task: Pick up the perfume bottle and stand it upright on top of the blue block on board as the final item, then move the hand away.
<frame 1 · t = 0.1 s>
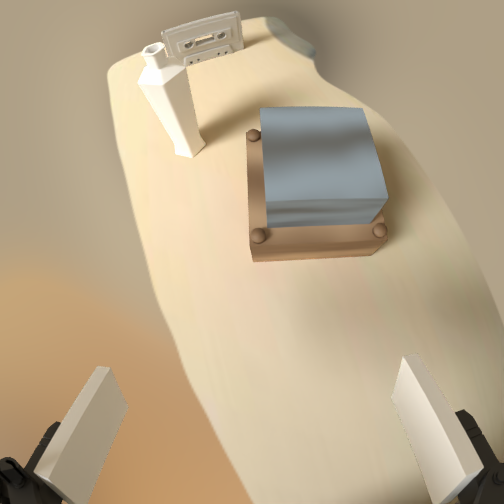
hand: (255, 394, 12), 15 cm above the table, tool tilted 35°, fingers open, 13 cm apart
cassette: (208, 58, 40), on the table
blue block on board: (308, 203, 31), on the table
perfume bottle: (191, 146, 34), on the table
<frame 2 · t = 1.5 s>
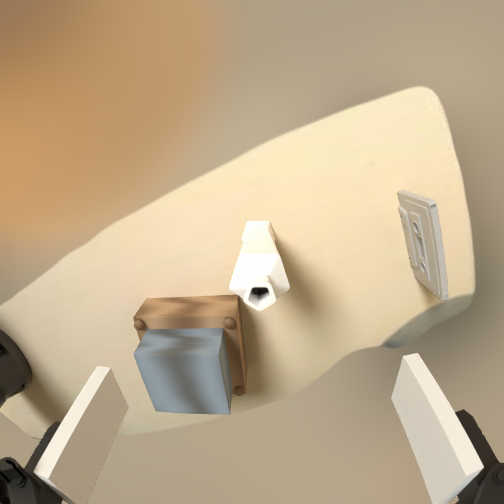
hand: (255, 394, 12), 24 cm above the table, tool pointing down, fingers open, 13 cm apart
cassette: (409, 234, 34), on the table
blue block on board: (198, 336, 38), on the table
perfume bottle: (258, 236, 34), on the table
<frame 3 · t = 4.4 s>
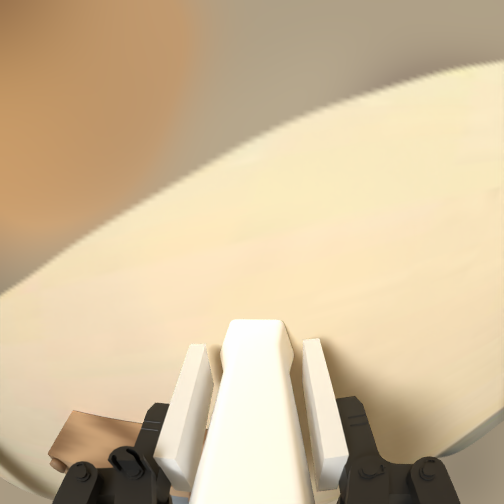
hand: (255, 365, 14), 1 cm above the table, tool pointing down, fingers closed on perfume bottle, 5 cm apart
blue block on board: (160, 463, 19), on the table
perfume bottle: (256, 348, 15), on the table, touching gripper
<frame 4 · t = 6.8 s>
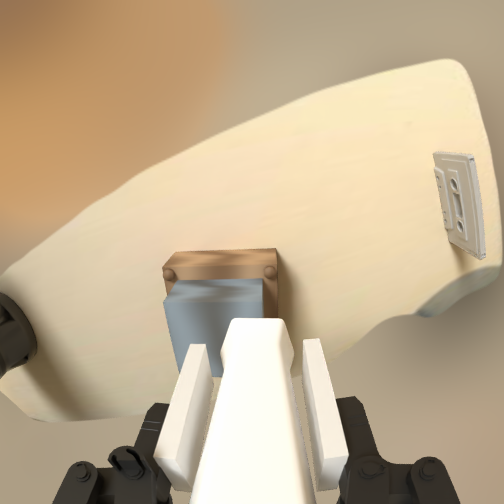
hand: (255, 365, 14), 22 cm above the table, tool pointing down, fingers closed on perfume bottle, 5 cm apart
cassette: (443, 197, 32), on the table
blue block on board: (228, 296, 37), on the table
perfume bottle: (257, 346, 15), point 20 cm above the table, touching gripper
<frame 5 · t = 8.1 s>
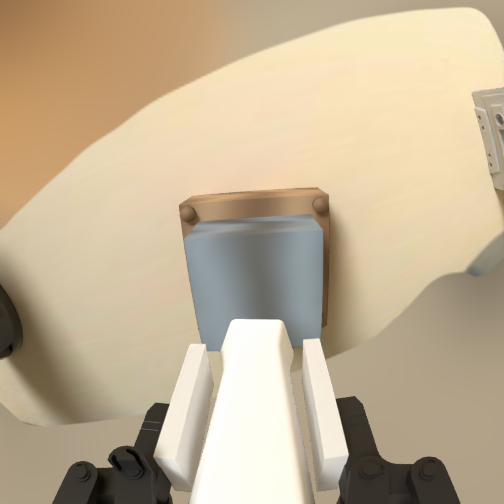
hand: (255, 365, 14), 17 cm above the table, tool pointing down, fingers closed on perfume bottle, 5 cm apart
cassette: (485, 140, 25), on the table
blue block on board: (258, 251, 30), on the table
perfume bottle: (257, 347, 15), point 16 cm above the table, touching gripper
when the fingers open (13 cm above the table, at t = 9.2 s): perfume bottle drops 1 cm, resting on blue block on board.
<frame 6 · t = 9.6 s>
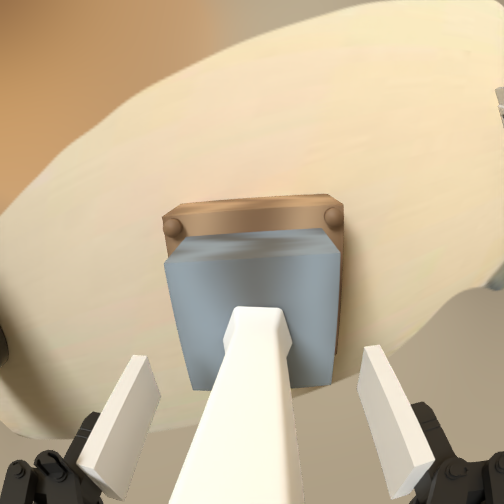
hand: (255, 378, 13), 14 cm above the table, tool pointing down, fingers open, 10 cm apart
blue block on board: (258, 267, 26), on the table
perfume bottle: (257, 335, 16), point 10 cm above the table, touching blue block on board
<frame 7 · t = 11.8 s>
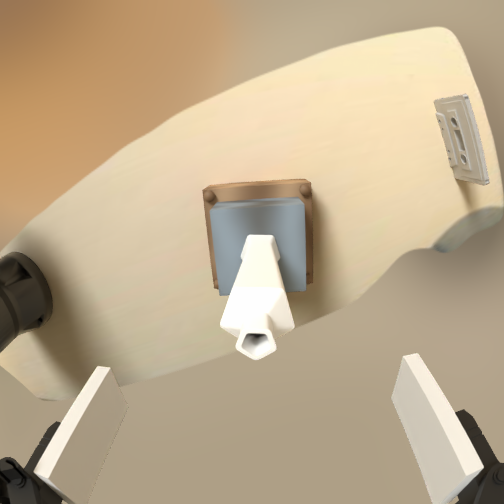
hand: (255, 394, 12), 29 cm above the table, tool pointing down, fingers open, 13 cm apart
cassette: (446, 139, 34), on the table
blue block on board: (260, 227, 39), on the table
perfume bottle: (260, 252, 30), point 10 cm above the table, touching blue block on board
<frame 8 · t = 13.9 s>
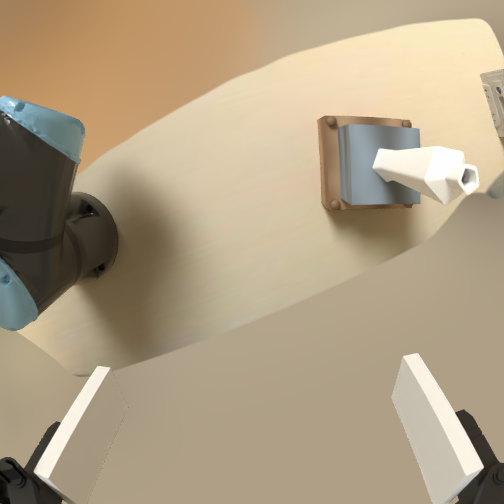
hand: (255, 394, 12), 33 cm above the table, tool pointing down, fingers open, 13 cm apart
cassette: (490, 105, 34), on the table
blue block on board: (360, 161, 39), on the table
perfume bottle: (387, 165, 30), point 10 cm above the table, touching blue block on board
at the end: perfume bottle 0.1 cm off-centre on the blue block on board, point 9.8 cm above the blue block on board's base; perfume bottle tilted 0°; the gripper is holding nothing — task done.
